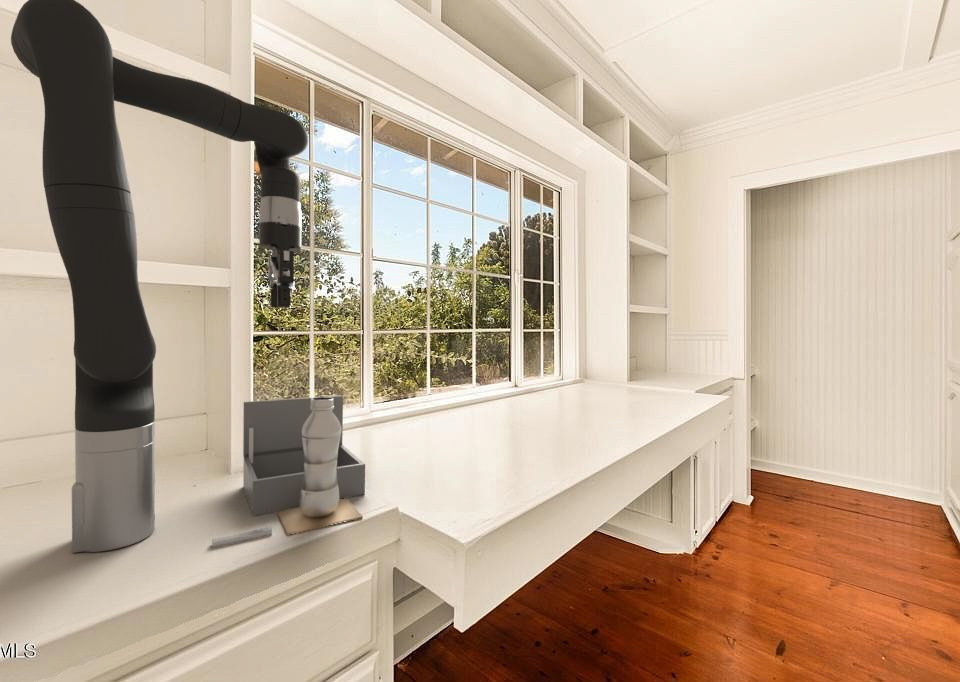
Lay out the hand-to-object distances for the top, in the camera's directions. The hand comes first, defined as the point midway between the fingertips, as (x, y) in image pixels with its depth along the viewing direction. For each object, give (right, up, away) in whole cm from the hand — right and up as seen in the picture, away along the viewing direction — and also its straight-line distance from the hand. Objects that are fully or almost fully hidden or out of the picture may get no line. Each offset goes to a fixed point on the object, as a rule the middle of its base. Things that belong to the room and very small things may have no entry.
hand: (280, 307), depth 87 cm
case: (+4, -36, 0) cm, 37 cm away
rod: (+3, -37, -20) cm, 42 cm away
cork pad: (+12, -37, -11) cm, 40 cm away
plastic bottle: (+12, -37, -11) cm, 40 cm away
